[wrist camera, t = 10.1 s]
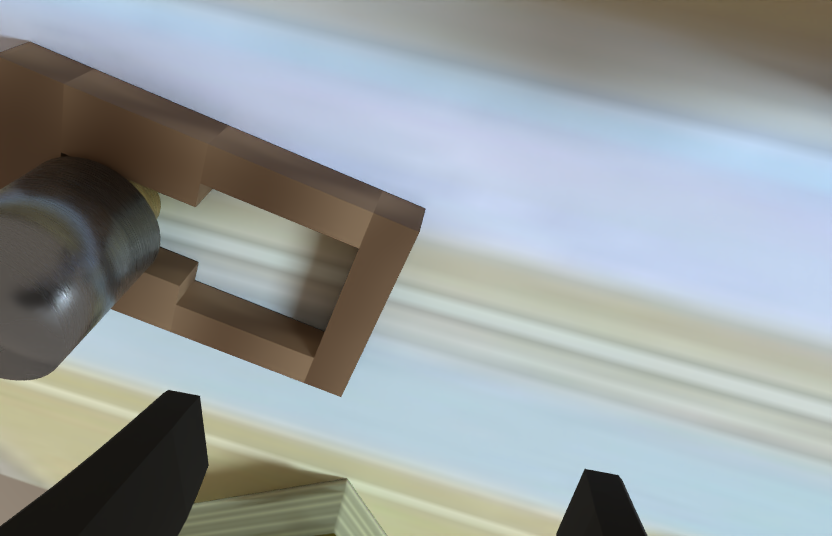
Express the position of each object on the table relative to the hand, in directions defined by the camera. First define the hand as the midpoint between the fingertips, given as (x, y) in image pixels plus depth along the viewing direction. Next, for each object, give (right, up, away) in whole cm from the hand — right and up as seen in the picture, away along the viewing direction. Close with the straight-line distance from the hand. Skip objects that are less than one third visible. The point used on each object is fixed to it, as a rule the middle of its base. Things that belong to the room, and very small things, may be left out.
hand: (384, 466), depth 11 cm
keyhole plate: (-7, +5, +10) cm, 13 cm away
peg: (-10, +6, +9) cm, 15 cm away
